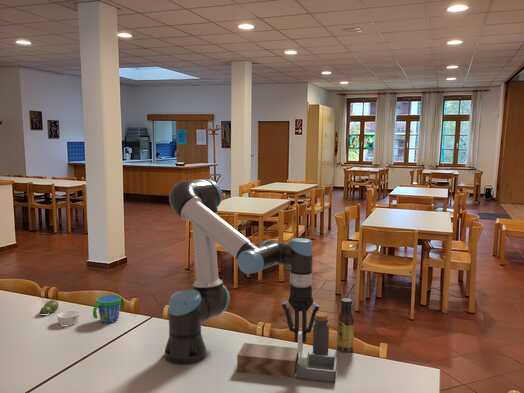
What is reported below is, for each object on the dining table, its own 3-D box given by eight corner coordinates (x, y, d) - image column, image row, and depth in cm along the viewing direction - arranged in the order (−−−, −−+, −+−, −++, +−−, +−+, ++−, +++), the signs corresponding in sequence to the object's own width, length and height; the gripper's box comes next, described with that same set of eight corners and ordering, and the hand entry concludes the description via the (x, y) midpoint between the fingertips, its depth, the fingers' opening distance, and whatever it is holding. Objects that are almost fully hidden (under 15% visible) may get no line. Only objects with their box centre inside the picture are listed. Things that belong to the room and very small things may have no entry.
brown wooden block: (237, 371, 159) (237, 355, 158) (244, 358, 168) (244, 342, 168) (294, 377, 155) (294, 361, 154) (298, 364, 164) (298, 348, 164)
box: (295, 378, 154) (296, 367, 154) (299, 363, 165) (300, 353, 164) (335, 383, 151) (335, 371, 151) (336, 367, 162) (336, 356, 162)
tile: (299, 357, 155) (306, 357, 155) (301, 349, 161) (308, 350, 161) (299, 373, 156) (306, 374, 156) (301, 365, 162) (308, 366, 161)
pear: (60, 298, 216) (46, 309, 206) (61, 308, 217) (48, 319, 208) (49, 297, 217) (35, 308, 207) (51, 307, 218) (37, 318, 209)
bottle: (327, 356, 170) (328, 317, 169) (312, 355, 171) (312, 316, 170) (328, 350, 176) (329, 312, 174) (313, 348, 177) (314, 311, 175)
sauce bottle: (335, 345, 180) (336, 296, 178) (351, 345, 180) (353, 296, 178) (338, 353, 174) (339, 302, 171) (354, 353, 173) (356, 302, 171)
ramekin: (74, 327, 196) (73, 317, 196) (53, 327, 196) (53, 317, 196) (82, 319, 205) (82, 310, 204) (63, 319, 205) (62, 310, 205)
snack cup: (100, 328, 195) (99, 305, 194) (86, 322, 201) (86, 300, 200) (131, 318, 207) (131, 296, 206) (117, 312, 213) (117, 291, 212)
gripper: (280, 286, 153) (279, 353, 156) (319, 288, 151) (318, 357, 153) (283, 280, 161) (283, 344, 163) (321, 282, 158) (320, 348, 161)
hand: (300, 350), depth 158 cm, fingers closed
